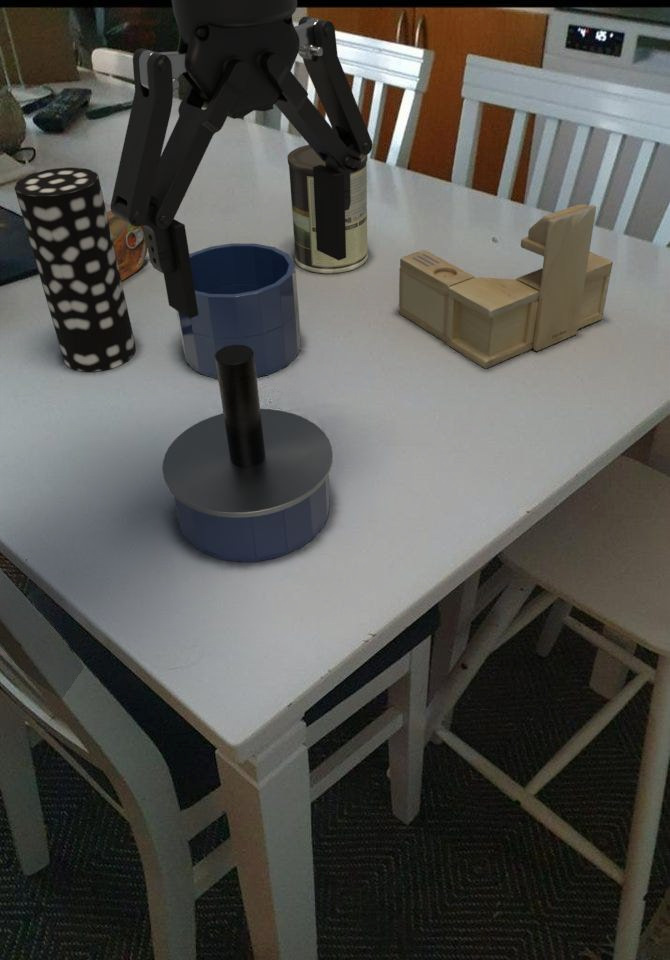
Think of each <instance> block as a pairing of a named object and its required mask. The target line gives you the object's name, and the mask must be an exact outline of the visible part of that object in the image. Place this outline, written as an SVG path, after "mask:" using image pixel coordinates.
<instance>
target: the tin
mask: <svg viewBox="0 0 670 960" xmlns="http://www.w3.org/2000/svg"><path fill="white" fill-rule="evenodd" d="M106 213H107V218H108V222H109V227H110V231H111V236H112V240H113V245H114V250H115V254H116V259H117V263H118V268H119V272H120V277H121V282H122V283H123V281H125V280H126V279H128V278H130V277H131V276H132V275H134V274H135V273H136V272H138V271H139V270H140V269H141V267H142V266H143V265H144V263H145V261H146V258H147V254H148V247H147V242H146V237H145V231H144V227H143V225H142V226H139V227H135V226H133V225H131V224H129V223H127V222H126V221H124V220H122V219H120V218H119V217H117V216H115V215H114V214H113V213H112V212H111V210H109V211H106Z"/></svg>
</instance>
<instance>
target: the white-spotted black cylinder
mask: <svg viewBox="0 0 670 960" xmlns="http://www.w3.org/2000/svg"><path fill="white" fill-rule="evenodd" d="M13 188H14V191H15V195H16V198H17V202H18V205H19V208H20V212H21V216H22V219H23V224H24V225H25V229H26V234H27V237H28V241H29V245H30V247H31V250H32V253H33V258H34V262H35V264H36V268H37V272H38V275H39V278H40V282H41V285H42V289H43V293H44V297H45V300H46V303H47V307H48V310H49V314H50V317H51V321H52V324H53V327H54V331H55V334H56V337H57V342H58V345H59V348H60V351H61V355H62V358H63V362H64V364H65V365H66V366H67V367H68V368H70V369H72V370H74V371H78V372H88V373H92V372H102V371H107V370H112V369H114V368H116V367H119V366H121V365H123V364H125V363H127V362H128V361H130V359H131V358H132V357H133V356H134V355H135V354H136V352H137V351H136V350H137V347H136V342H135V337H134V333H133V327H132V323H131V319H130V313H129V309H128V305H127V300H126V295H125V292H124V291H125V290H124V286H123V281H122V282H121V277H120V272H119V268H118V263H117V259H116V254H115V250H114V245H113V240H112V236H111V231H110V227H109V222H108V218H107V209H106V203H105V199H104V194H103V191H102V190H103V189H102V186H101V181H100V176H99V175H98V172H96V171H94V170H92V169H90V168H84V167H71V166H70V167H57V168H50V169H45V170H40V171H36V172H33V173H31V174H27V175H26V176H24V177H22V178H20V179H19V180H17V181H16V182H15V184H14V185H13Z"/></svg>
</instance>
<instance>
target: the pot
mask: <svg viewBox="0 0 670 960" xmlns="http://www.w3.org/2000/svg"><path fill="white" fill-rule="evenodd" d="M189 256H190V263H191V269H192V276H193V282H194V289H195V295H196V302H197V308H198V316H195V317H193V318H190V319H189V318H188V317H186V316H184V315H183V314H181V313H180V312H178V311H177V310H175V311H176V316H177V322H178V329H179V335H180V339H181V344H182V350H183V355H184V358H185V361H186V363H187V364H188V366H189V367H190V368H191V369H192V370H194V371H195V372H197V373H199V374H201V375H203V376H206V377H209V378H213V379H218V374H217V367H216V361H215V354H216V352H217V351H218V350H220V349H221V348H223V347H226V346H229V345H245V346H248V347H250V348H251V349H252V350H253V352H254V359H255V367H256V376H257V378H261V377H265V376H268V375H271V374H273V373H277V372H278V371H280V370H282V369H284V368H285V367H287V366H288V365H290V364H291V363H292V362H293V361H294V360H295V359H296V358H297V357H298V354H299V352H300V349H301V342H302V340H301V339H302V338H301V325H300V309H299V295H298V284H297V283H298V282H297V281H298V280H297V269H296V268H297V267H296V262H295V260H294V259H293V258H292V256H291V254H289V253H287V252H285V251H283V250H281V249H279V248H277V247H275V246H270V245H265V244H260V243H244V242H243V243H240V242H239V243H233V242H232V243H227V244H226V243H225V244H220V245H213V246H208V247H206V248H202V249H200V250H197V251H194V252H192V253H189Z"/></svg>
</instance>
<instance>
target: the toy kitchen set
mask: <svg viewBox="0 0 670 960" xmlns="http://www.w3.org/2000/svg"><path fill="white" fill-rule="evenodd" d="M596 211H597V206H596V205H594V204H591V205H587V204H585V203H578V204H575V205H572V206H569V207H567V208H563V209H561V210H558V211H555V212H552V213H549V214H546V215H543V216H542V217H541V218H540V219H539V220H538V221H536V222H535V223H534V224H532V226H531V227H530V228H529V229H528V232H527V233H528V234H527V236H525V237H522V238H521V239H520V248H522V249H524V250H527V251H529V252H532V253H534V254H536V255H539V256H542V257H543V263H542V268H540V269H539V268H538V269H537V270H534V271H532V272H529V273H527V274H524V275H521V276H519V277H516V279H512V278H498V277H497V278H495V277H475V275H472V274H470V273H469V272H467V271H465V270H463V269H461V268H459V267H457V266H456V265H454V264H452V263H450V262H448V261H446V260H445V259H443V258H441V257H439V256H437V255H435V254H434V253H432V252H430V251H428V250H426V249H422V250H420V251H416V252H413V253H410V254H408V255H404V256H401V257H400V258H399V266H400V267H399V270H398V271H399V279H398V280H399V283H398V291H399V292H398V299H399V300H398V302H399V303H398V306H399V308H398V309H399V311H398V312H399V314H400V315H401V316H403V317H405V318H406V319H408V320H409V321H410V322H412V323H414V324H416V325H417V326H418V327H420V328H422V329H424V330H425V331H426V332H428V333H429V334H431V335H433V336H434V337H436V338H438V339H439V340H440V341H442V342H444V343H445V344H446V345H447V346H448V347H450V348H451V349H453V350H455V351H457V352H458V353H460V354H461V355H463V356H464V357H465V358H468V360H471V361H472V362H474V363H476V364H477V365H478V366H480V367H482V368H483V369H489V368H491V367H494V366H495V365H497V364H501V363H503V362H504V361H507V360H509V359H511V358H515V357H516V356H519V355H521V354H523V353H524V354H525V353H526V352H528V351H531V350H534V351H535V352H539V351H541V350H543V349H545V348H548V347H550V346H552V345H555V344H557V343H560V342H561V341H564V340H566V339H569V338H571V337H573V336H576V335H577V333H578V330H579V329H581V328H583V327H586V326H589V325H591V324H594V323H595V322H599V321H601V320H602V319H603V318H604V311H605V307H606V301H607V296H608V290H609V285H610V280H611V274H612V269H613V264H614V261H613V260H611V259H608V258H606V257H604V256H601V255H598V254H597V253H595V252H592V251H591V244H592V239H593V238H592V237H593V231H594V226H595V225H594V224H595V218H596Z"/></svg>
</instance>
